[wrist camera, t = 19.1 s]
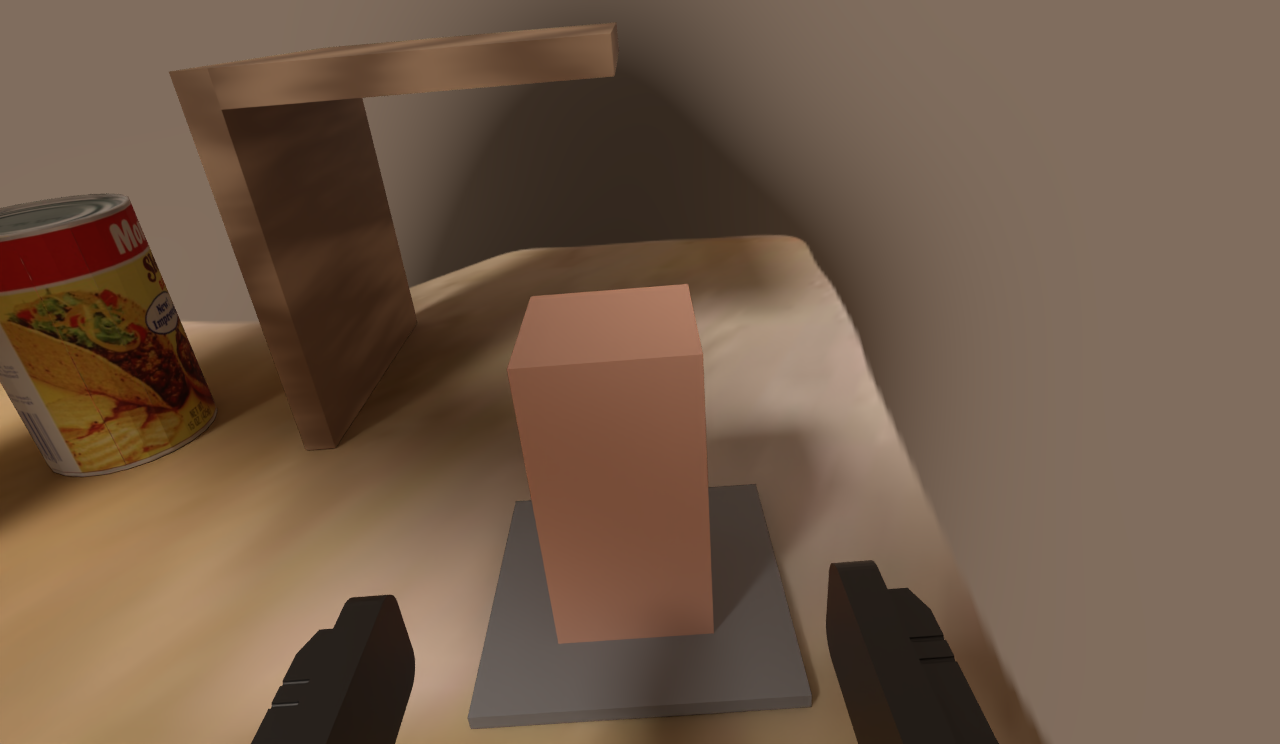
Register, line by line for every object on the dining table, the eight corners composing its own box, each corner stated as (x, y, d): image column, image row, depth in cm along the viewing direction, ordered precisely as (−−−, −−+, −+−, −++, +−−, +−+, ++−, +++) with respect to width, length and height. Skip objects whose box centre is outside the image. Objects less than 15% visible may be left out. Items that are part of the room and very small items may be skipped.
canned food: (247, 412, 39) (162, 198, 33) (95, 493, 33) (-40, 249, 28) (169, 386, 43) (80, 189, 37) (20, 455, 37) (-113, 233, 31)
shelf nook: (305, 450, 35) (168, 71, 27) (395, 323, 49) (323, 47, 41) (645, 424, 35) (610, 33, 26) (639, 304, 48) (616, 22, 40)
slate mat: (470, 728, 21) (467, 717, 20) (517, 510, 29) (515, 501, 29) (811, 707, 20) (811, 695, 20) (755, 493, 29) (755, 484, 29)
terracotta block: (558, 643, 23) (506, 369, 18) (569, 538, 27) (530, 296, 22) (714, 633, 22) (703, 354, 18) (699, 529, 27) (688, 283, 22)
